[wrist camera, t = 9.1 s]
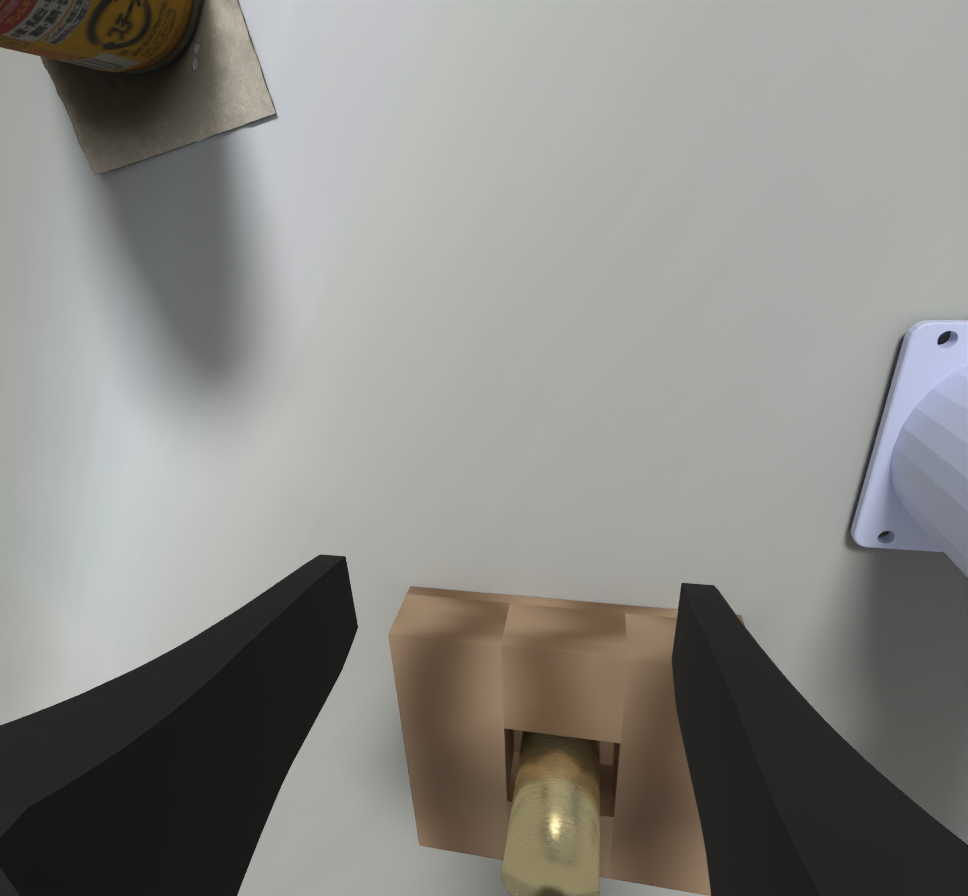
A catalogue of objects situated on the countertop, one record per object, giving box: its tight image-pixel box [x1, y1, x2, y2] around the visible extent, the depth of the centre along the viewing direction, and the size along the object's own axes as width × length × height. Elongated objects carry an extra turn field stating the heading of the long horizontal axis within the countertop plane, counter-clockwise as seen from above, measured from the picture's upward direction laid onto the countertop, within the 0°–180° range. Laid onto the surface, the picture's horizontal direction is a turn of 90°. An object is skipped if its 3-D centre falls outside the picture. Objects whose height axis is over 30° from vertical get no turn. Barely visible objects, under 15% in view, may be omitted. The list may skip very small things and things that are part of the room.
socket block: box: [388, 587, 744, 896], centre depth 26 cm, size 14×14×3 cm
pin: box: [501, 731, 600, 896], centre depth 23 cm, size 4×4×7 cm
